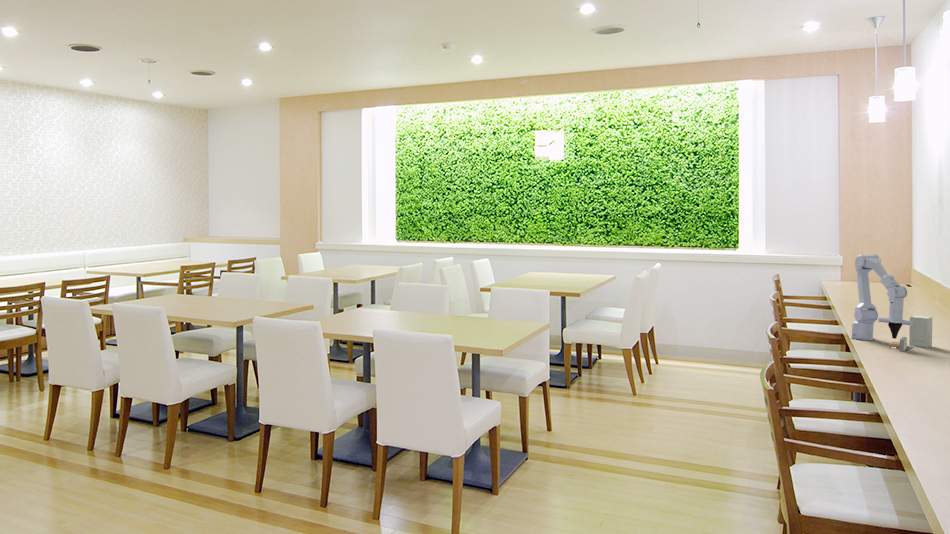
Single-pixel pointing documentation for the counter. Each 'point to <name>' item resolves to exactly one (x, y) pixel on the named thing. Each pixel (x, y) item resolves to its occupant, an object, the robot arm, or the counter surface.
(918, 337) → the skincare box
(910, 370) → the counter surface
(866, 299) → the robot arm
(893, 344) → the terracotta tile
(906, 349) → the rubber mat
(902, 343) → the slate tile
